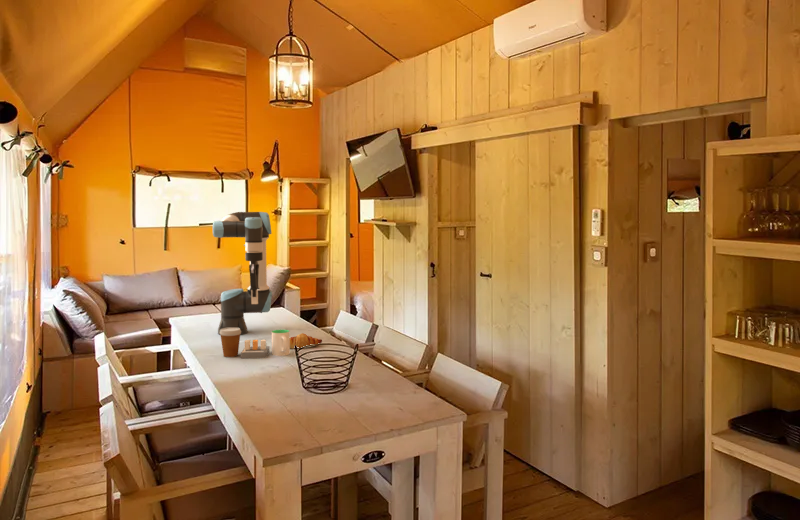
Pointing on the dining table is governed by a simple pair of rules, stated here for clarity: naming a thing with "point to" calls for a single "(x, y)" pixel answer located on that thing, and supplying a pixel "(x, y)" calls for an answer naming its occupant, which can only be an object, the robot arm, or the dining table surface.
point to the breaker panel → (255, 353)
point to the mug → (280, 342)
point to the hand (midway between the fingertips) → (254, 303)
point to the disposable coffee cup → (230, 341)
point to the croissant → (303, 340)
